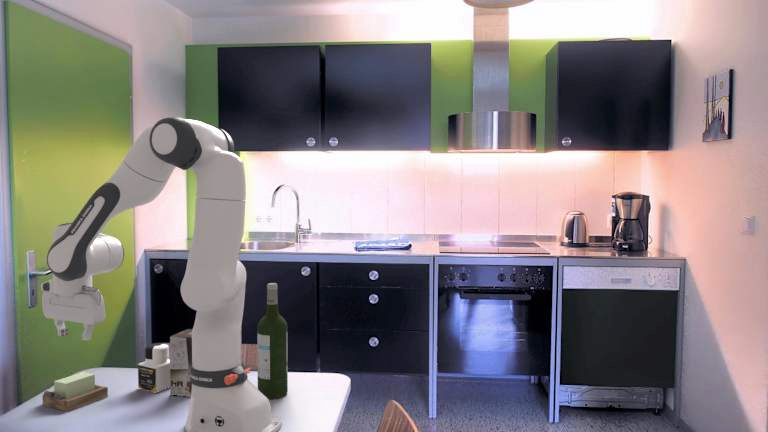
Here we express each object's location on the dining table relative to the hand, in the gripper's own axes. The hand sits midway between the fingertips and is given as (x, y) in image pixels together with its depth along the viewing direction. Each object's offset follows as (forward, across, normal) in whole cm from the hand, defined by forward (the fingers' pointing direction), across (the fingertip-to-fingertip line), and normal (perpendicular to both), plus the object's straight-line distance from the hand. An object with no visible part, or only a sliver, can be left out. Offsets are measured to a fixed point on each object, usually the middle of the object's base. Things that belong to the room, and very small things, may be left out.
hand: (74, 337), depth 141 cm
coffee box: (+17, -21, -18) cm, 33 cm away
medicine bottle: (+17, -11, -16) cm, 26 cm away
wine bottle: (+17, -43, -26) cm, 53 cm away
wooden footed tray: (+16, 0, 0) cm, 17 cm away
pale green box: (+15, 0, 0) cm, 16 cm away
